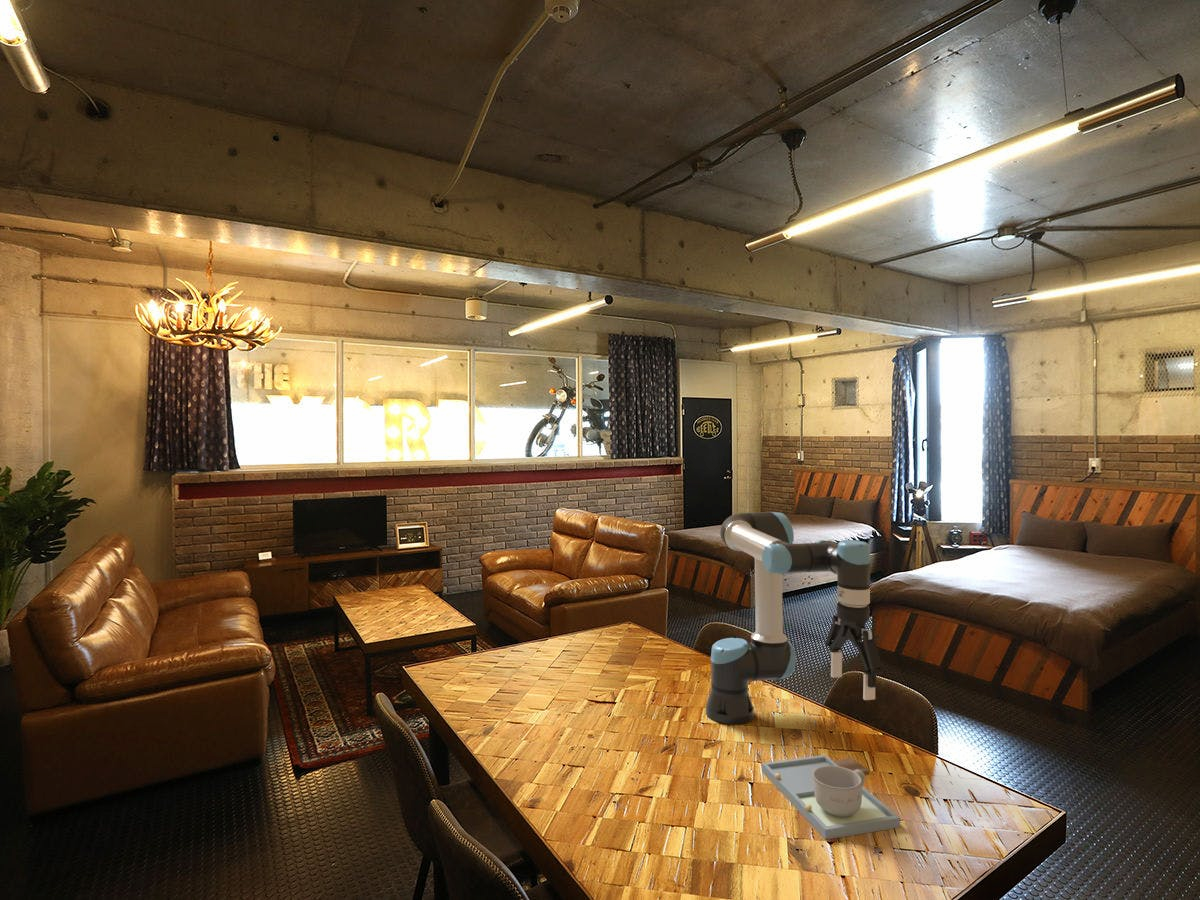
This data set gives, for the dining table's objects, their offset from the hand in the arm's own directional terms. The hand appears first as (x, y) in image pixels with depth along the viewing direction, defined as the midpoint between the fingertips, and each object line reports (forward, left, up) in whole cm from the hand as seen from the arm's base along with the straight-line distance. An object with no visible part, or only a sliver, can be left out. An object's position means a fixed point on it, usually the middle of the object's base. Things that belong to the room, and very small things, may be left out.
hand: (852, 687), depth 154 cm
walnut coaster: (-10, +6, -27) cm, 29 cm away
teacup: (+8, -8, -25) cm, 27 cm away
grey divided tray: (+1, -8, -26) cm, 27 cm away
